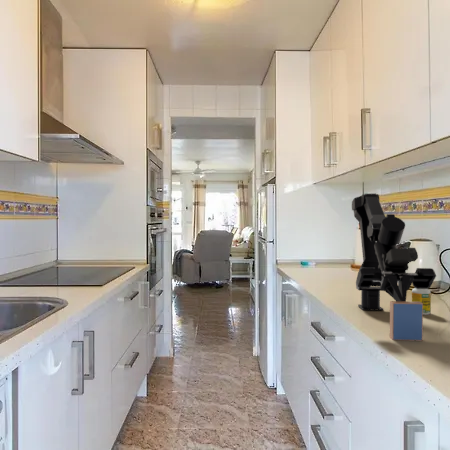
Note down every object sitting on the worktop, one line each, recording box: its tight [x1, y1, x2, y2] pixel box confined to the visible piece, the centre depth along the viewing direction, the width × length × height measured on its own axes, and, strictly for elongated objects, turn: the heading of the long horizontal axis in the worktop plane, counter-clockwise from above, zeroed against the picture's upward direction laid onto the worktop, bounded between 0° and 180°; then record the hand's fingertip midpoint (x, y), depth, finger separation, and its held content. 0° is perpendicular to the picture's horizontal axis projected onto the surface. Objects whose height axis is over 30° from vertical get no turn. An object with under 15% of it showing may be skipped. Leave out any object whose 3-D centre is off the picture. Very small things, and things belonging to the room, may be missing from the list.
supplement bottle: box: [411, 287, 432, 316], centre depth 124 cm, size 5×5×10 cm
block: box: [389, 300, 424, 342], centre depth 96 cm, size 2×7×9 cm, turn 86°
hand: (403, 305), depth 98 cm, fingers closed
